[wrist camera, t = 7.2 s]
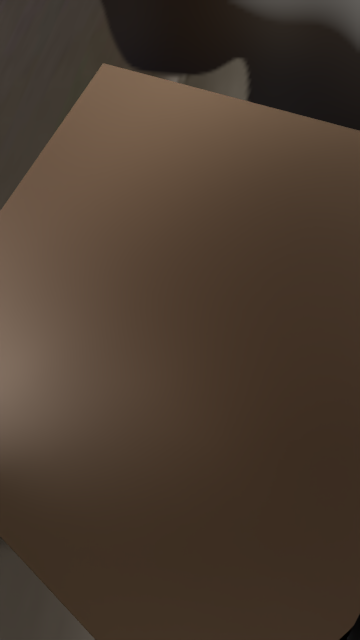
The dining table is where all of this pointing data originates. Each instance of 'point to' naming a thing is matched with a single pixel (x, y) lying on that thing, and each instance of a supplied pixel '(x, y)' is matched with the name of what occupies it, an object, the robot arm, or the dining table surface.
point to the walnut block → (185, 366)
